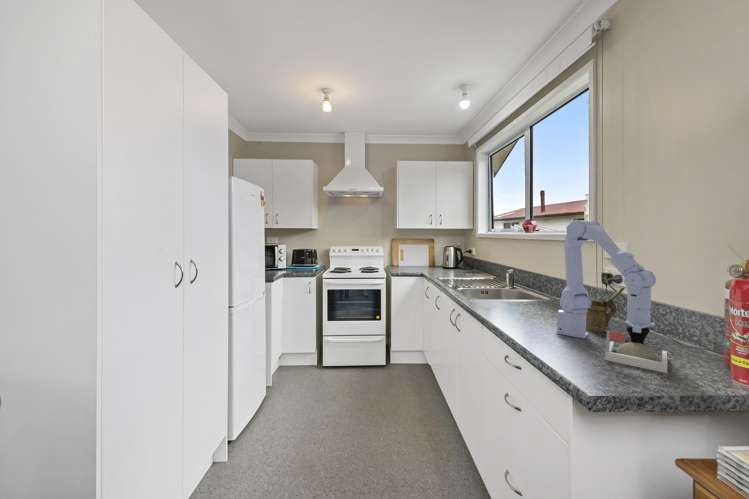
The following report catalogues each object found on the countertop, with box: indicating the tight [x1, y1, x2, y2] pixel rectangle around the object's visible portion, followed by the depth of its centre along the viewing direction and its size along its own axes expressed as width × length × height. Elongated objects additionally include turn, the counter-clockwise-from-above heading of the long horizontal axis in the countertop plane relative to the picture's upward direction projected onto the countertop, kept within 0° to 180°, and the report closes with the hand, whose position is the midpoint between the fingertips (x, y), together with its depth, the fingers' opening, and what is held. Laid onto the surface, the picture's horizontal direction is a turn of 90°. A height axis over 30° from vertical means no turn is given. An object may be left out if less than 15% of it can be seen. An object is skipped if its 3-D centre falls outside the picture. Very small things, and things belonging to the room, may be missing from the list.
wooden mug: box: [586, 287, 625, 333], centre depth 128 cm, size 9×14×18 cm, turn 52°
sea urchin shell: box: [617, 341, 657, 361], centre depth 98 cm, size 9×8×8 cm
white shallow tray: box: [604, 330, 668, 374], centre depth 97 cm, size 14×14×9 cm
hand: (637, 349), depth 102 cm, fingers closed
